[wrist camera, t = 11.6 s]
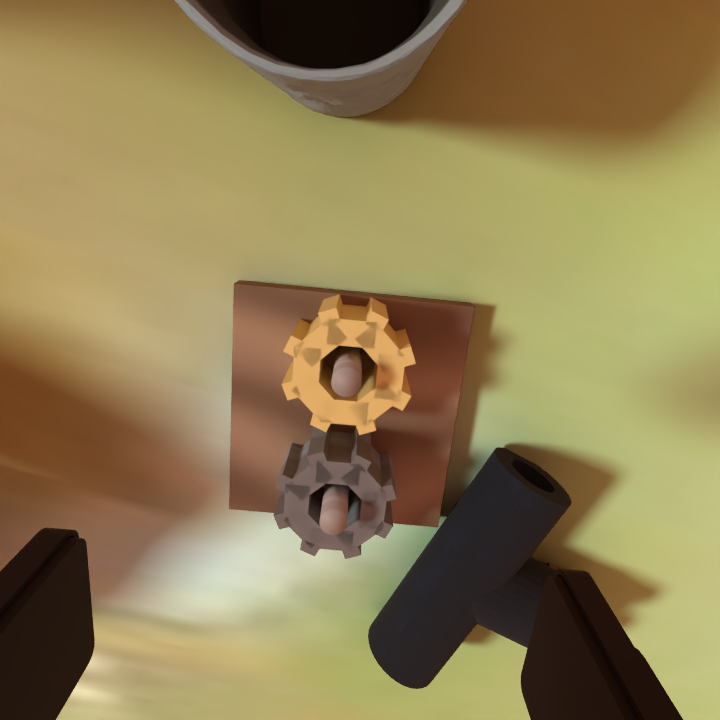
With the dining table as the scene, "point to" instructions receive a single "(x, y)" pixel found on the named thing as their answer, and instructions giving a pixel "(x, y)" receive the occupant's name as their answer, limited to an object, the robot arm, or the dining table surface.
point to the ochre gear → (378, 383)
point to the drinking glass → (329, 45)
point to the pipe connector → (473, 571)
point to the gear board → (342, 442)
